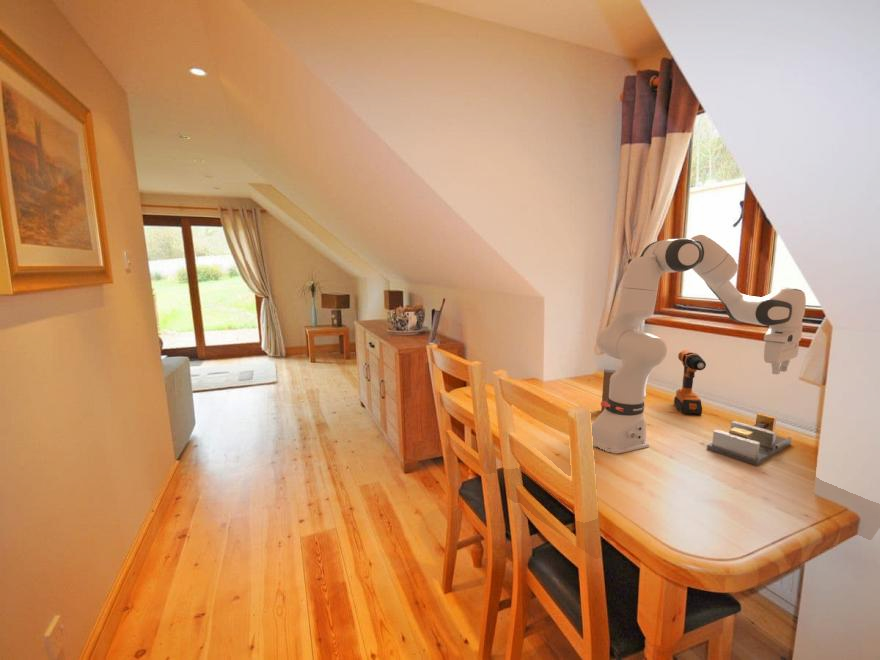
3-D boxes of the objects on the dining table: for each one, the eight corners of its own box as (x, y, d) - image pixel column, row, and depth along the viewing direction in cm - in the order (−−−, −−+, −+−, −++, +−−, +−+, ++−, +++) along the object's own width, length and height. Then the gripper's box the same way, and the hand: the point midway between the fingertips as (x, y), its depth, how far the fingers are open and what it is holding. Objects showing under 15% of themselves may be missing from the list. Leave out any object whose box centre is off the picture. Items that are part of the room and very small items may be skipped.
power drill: (708, 421, 159) (715, 359, 155) (687, 420, 161) (693, 358, 157) (690, 403, 180) (696, 348, 176) (672, 402, 182) (677, 347, 178)
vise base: (756, 466, 124) (759, 446, 123) (706, 449, 136) (708, 430, 135) (790, 444, 139) (793, 426, 138) (743, 430, 151) (745, 413, 150)
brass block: (745, 452, 130) (747, 435, 129) (727, 446, 134) (729, 429, 133) (750, 449, 132) (753, 432, 131) (733, 443, 136) (735, 427, 135)
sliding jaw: (771, 448, 132) (774, 428, 131) (729, 435, 142) (731, 417, 141) (786, 439, 139) (789, 420, 138) (745, 427, 149) (747, 410, 148)
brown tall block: (624, 413, 168) (628, 371, 165) (624, 417, 164) (628, 374, 161) (601, 410, 172) (604, 369, 169) (601, 413, 168) (603, 371, 165)
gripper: (784, 330, 150) (779, 366, 152) (762, 335, 139) (757, 374, 141) (806, 332, 145) (801, 370, 147) (785, 338, 133) (779, 379, 136)
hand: (779, 372), depth 144 cm, fingers open, 5 cm apart
